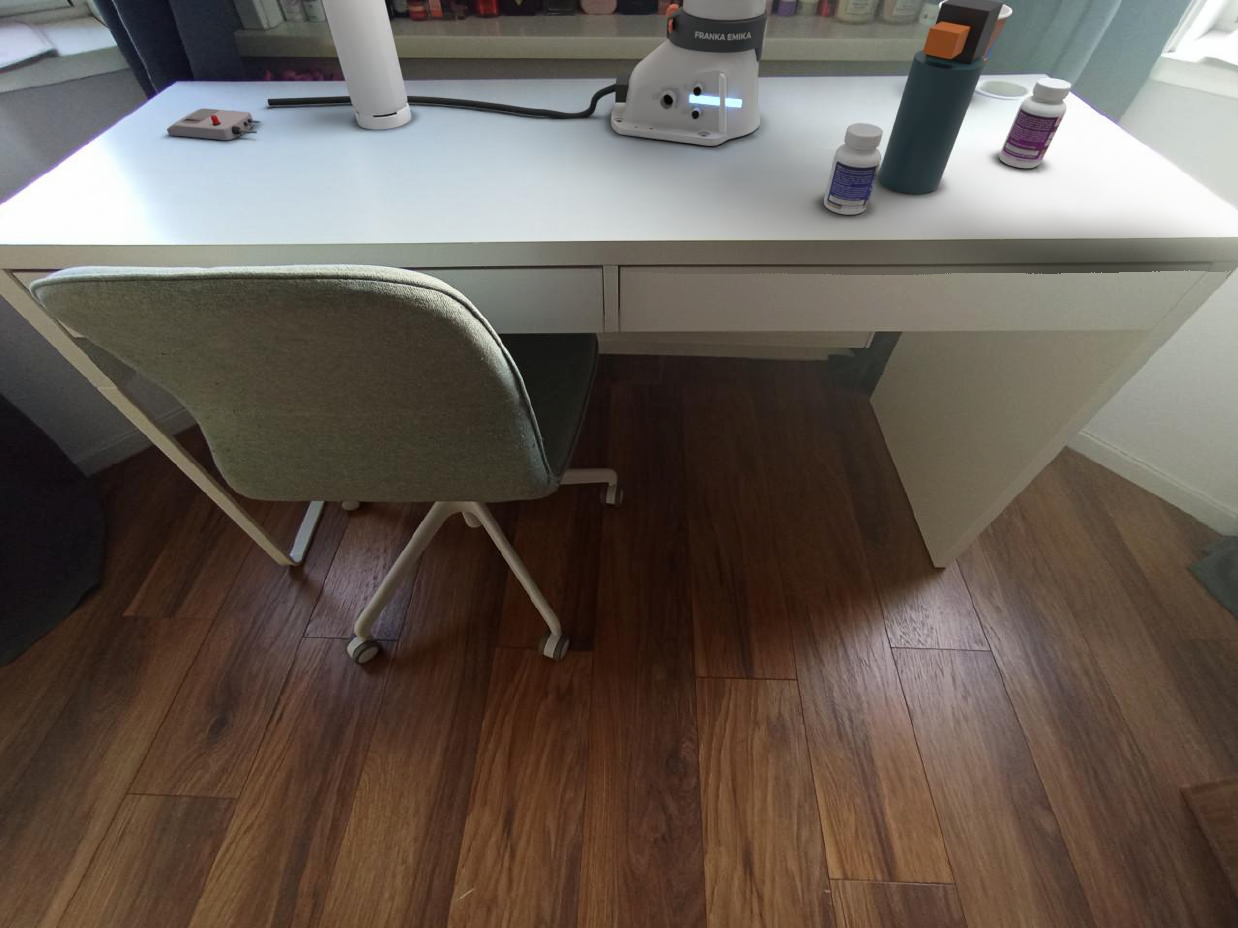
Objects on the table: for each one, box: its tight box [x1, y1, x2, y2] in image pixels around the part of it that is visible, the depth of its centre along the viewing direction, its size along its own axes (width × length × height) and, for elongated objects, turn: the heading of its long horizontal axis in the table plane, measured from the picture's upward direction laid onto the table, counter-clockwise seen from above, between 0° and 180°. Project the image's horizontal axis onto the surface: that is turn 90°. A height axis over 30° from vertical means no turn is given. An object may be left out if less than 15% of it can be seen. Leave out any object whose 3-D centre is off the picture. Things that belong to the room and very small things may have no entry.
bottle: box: [321, 0, 412, 131], centre depth 87 cm, size 8×8×28 cm
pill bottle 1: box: [823, 122, 884, 216], centre depth 75 cm, size 5×5×9 cm
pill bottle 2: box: [998, 77, 1072, 169], centre depth 83 cm, size 5×5×10 cm
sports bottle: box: [877, 0, 1004, 195], centre depth 76 cm, size 8×8×19 cm
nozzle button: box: [922, 22, 970, 59], centre depth 69 cm, size 3×3×2 cm
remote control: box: [166, 107, 261, 141], centre depth 93 cm, size 7×16×3 cm, turn 78°
